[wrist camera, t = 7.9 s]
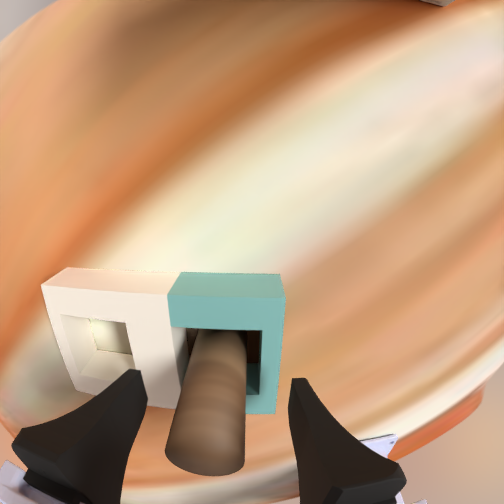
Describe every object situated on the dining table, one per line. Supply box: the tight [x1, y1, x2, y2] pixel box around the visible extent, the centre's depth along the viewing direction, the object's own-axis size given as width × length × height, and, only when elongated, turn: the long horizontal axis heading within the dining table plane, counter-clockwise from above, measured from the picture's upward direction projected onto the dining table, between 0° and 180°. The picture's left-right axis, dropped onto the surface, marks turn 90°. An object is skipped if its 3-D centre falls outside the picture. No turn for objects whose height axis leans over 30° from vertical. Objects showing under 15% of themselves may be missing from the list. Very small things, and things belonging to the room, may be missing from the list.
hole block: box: [41, 267, 286, 414], centre depth 16 cm, size 8×14×3 cm, turn 89°
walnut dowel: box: [165, 328, 247, 476], centre depth 13 cm, size 3×3×9 cm
